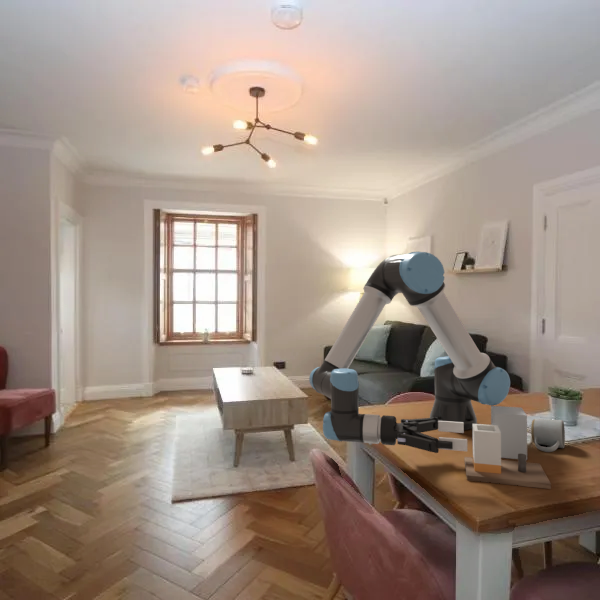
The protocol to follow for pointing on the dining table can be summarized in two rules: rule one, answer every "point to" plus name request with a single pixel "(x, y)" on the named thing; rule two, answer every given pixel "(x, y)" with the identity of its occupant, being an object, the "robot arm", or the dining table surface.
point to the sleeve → (487, 448)
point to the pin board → (511, 473)
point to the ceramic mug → (548, 434)
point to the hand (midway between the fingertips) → (465, 435)
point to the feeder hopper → (511, 430)
